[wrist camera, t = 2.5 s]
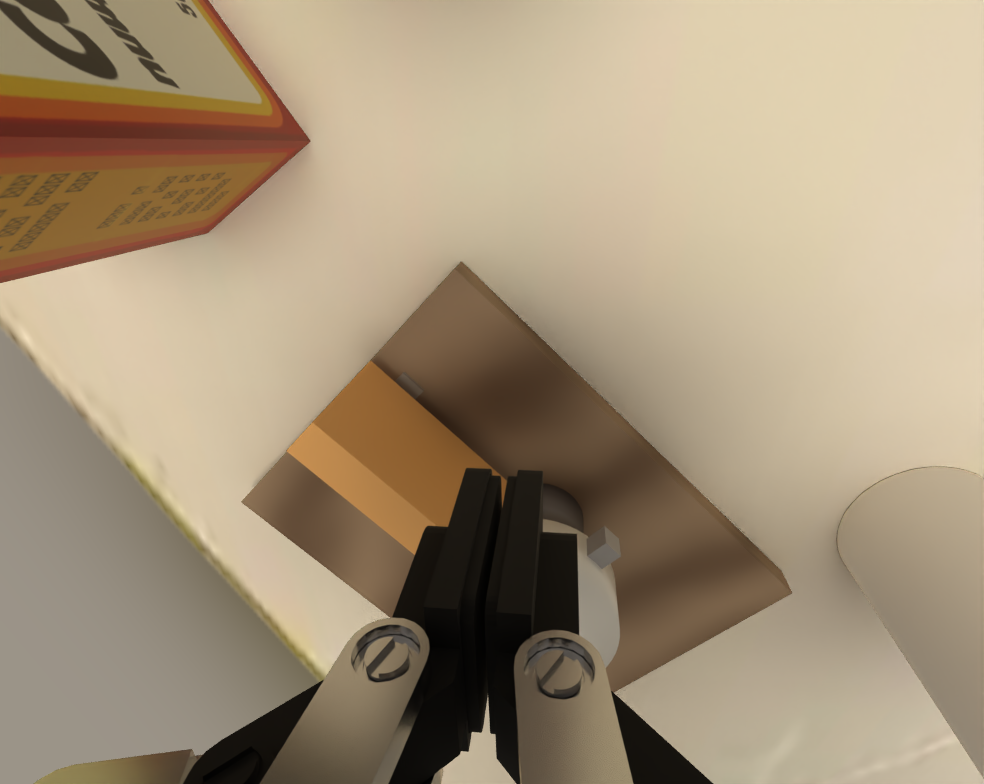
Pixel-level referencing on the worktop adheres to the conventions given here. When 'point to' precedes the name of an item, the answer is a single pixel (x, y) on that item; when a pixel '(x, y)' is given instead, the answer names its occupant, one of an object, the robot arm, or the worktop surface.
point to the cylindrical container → (928, 583)
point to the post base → (566, 481)
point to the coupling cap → (431, 483)
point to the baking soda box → (126, 128)
